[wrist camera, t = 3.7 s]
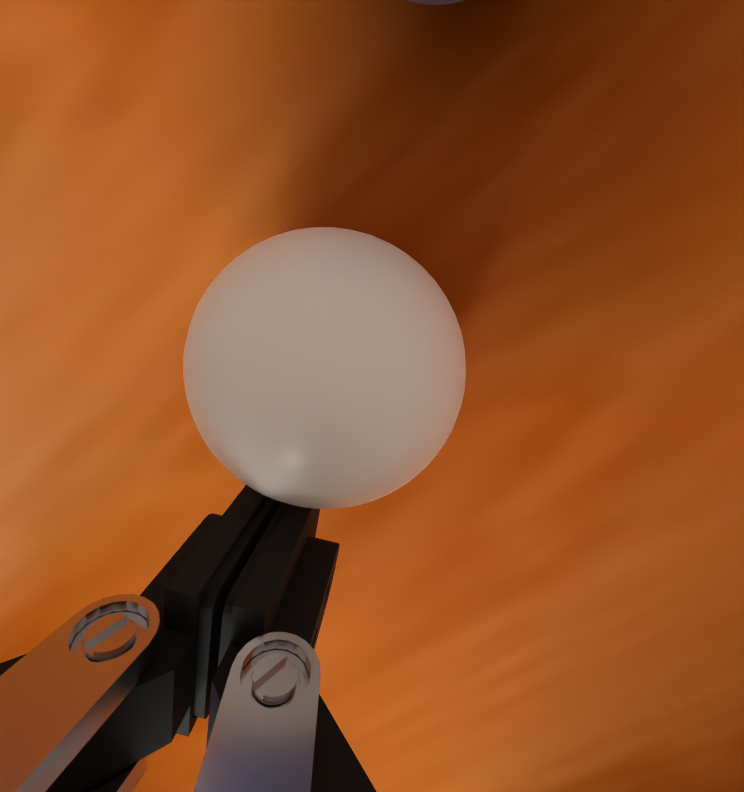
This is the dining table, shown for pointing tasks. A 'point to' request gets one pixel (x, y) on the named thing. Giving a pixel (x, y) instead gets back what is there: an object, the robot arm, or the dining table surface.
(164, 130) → the dining table surface
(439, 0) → the object ball
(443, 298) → the cue ball
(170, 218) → the dining table surface
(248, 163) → the dining table surface
